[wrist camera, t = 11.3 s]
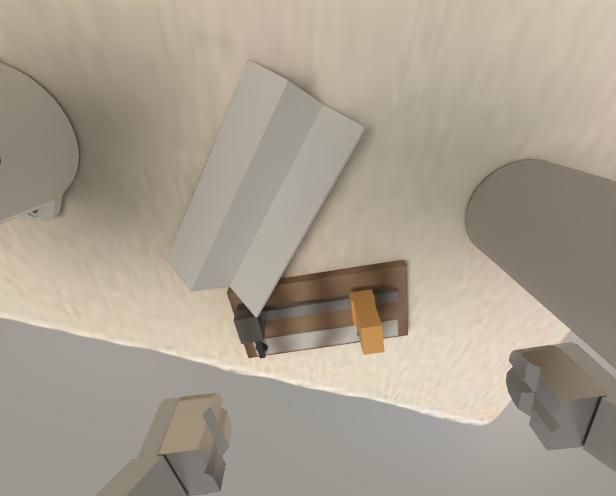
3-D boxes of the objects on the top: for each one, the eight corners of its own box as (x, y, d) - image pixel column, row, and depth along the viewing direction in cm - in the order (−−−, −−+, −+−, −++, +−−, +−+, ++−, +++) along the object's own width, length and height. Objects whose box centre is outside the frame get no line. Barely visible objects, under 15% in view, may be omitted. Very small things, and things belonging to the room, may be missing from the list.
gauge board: (249, 350, 49) (245, 376, 45) (229, 286, 44) (221, 309, 40) (404, 328, 48) (415, 352, 44) (402, 260, 43) (415, 279, 39)
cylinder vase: (445, 239, 42) (615, 411, 20) (496, 144, 37) (808, 231, 14) (526, 262, 44) (764, 442, 22) (585, 175, 39) (983, 294, 16)
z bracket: (208, 258, 45) (166, 259, 40) (288, 85, 37) (249, 59, 32) (257, 316, 40) (216, 326, 35) (366, 128, 31) (333, 104, 26)
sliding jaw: (354, 341, 46) (364, 384, 40) (348, 290, 42) (358, 328, 36) (375, 338, 46) (388, 381, 39) (370, 286, 42) (384, 324, 35)
